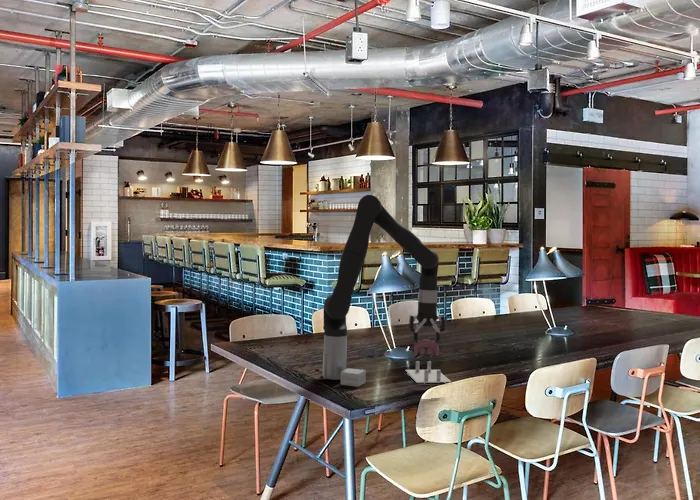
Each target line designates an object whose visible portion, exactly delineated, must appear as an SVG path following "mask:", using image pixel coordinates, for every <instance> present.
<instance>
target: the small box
mask: <svg viewBox="0 0 700 500" xmlns="http://www.w3.org/2000/svg"><path fill="white" fill-rule="evenodd" d="M366 372H367V370H366V369H357V368H350V367H349V368H348V367H346V369H345V370H344V371H342V372H341V379H340V385H343V386H350V387H356V388H357V387H358V388H359V387H361V386H362V385H364V384H365V383H366V380H367V379H366V376H367V375H366V374H367V373H366Z"/></svg>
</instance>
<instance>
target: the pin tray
mask: <svg viewBox="0 0 700 500" xmlns="http://www.w3.org/2000/svg"><path fill="white" fill-rule="evenodd" d="M420 362H421V361H419V360H417V361H415V369H405V371H406V372H407V373H406V372H405V373H406V375H407V376H408V377H409V376H410V377H411V378H412V379H413V380H414V381H415V382H416V383H424V384H423V385H426V384H425V383H440V382H444V383H446V382H451V383H452V381H451V380H450V379H449V378H448V377H447V376H446V375H444V374H443V373H442V371H441V369H432V361H431V360H429V361H426V362H427V364H426V366H427V368H426V369H420V365H421V363H420ZM410 377H409V378H410ZM411 378H410V379H411ZM412 379H411V380H412ZM413 380H412V381H413ZM414 381H413V382H414ZM415 382H414V383H415ZM416 383H415V384H416Z"/></svg>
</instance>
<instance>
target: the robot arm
mask: <svg viewBox="0 0 700 500" xmlns="http://www.w3.org/2000/svg"><path fill="white" fill-rule="evenodd" d="M374 224H376V225H377V226H378V227H380V228H381V229H382V230H384V231H385V233H387V234H388V236H390V237H391V238H392V239H393V240H394V241H395V242H396V243H397V244H398V245H399V246H400V247H401V248H402V249H403V250H405V251H406V252H407V253H408V254H409V255H410V256H411V257H412V258H413V259H414V261H416V262H417V264H419V265H420V266H421V267H420V271H421V272H420V277H419V287H418V296H417V315H412V314H410V315H409V320H408V330H409V331H411V332H413V334H412V335H413V337H412V339H413V341H414V343H415V342H418V340H419V339H418V338H419V337H418V336H419V333H418V332H419V330H420V329H421V328H422V327H424V328H425V327H429V328H431V327H432V328H433V330H434V331H435V332H434V341H435V342H436V343H438V342H439V341H440V336H441V335H440V334H441V332H445V329H446V328H445V327H446V326H445V324H446V317H445V316H444V315H438V272H439V261H440V259H439V254H437V252H436V251H434V250H431V249H429V248H428V247H427V246H426V245H425V244H423V242H422V240H421V239H420V238H419V237H417V236H416V234H414V232H412V231H411V230H410V229H408V228H407V227H406V226H405V225H403V224H402V223H400V222H399V221H398V220H396V219H395V218H394V217H393V216H392V215H391V214H390V213H389V212H388V211H387V210H386V208H385V207H384V205H383V204H382V202H381V201H380V199H379V198H378V197H377V196H376V195H374V194H366V195H364V196H362V197H361V198H360V199H359V202H358V204H357V208H356V213H355V218H354V221H353V226H352V228H351V230H350V232H349V235H348V237H347V240H346V243H345V245H344V247H343V248H344V249H343V251H342V254H341V257H340V260H339V266H338V271H337V272H338V273H337V281H336V284H335V287H334V290H333V292H332V294H330V295H328V296H327V298H325V300H324V302H323V331H324V332H323V334H324V335H323V352H322V377H323V378H322V379H323V380H334V381H335V380H336V381H337V380H341V372H342V371H344V370H345V369H347V354H348V353H347V350H348V349H347V348H348V347H347V346H348V327H347V315H348V314H349V311H350V308H351V307H350V306H351V302H352V299H353V293H354V289H355V287H356V284H357V282H358V279H359V276H360V274H361V271H362V268H363V266H364V263H365V260H366V256H367V252H368V248H369V243H370V235H371V232H372V228H373V226H374ZM416 320H417V323H416V325H415V327H414V324H415V323H414V322H416ZM437 320H438V322H439V327H438V325H437V324H436V322H437Z"/></svg>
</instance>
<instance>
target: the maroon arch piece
mask: <svg viewBox="0 0 700 500" xmlns="http://www.w3.org/2000/svg"><path fill="white" fill-rule="evenodd" d="M425 348H427V350H425ZM413 352H414V355H415V356H418V354H421V355H423V354H425V352H427V354H428V355H432V354H433V353H434V352H435V355H436V356H437V357H439V355H440V348H439V345H438V342H435V340H431V339H428V338H427V339H423V338H422V339H420V340H419V339H418V342H415V341H414V344H413Z"/></svg>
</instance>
